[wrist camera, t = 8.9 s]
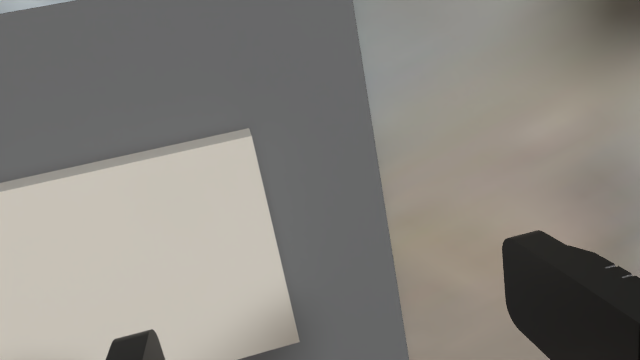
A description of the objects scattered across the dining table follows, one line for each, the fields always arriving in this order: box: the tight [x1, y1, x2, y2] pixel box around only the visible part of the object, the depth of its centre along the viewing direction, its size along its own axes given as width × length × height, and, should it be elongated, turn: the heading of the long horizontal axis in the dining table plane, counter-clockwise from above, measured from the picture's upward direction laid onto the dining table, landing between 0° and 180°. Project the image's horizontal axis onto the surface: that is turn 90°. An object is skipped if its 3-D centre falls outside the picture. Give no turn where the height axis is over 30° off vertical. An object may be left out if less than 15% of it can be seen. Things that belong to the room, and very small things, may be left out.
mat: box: [0, 0, 409, 360], centre depth 16 cm, size 16×14×1 cm
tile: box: [0, 128, 300, 360], centre depth 15 cm, size 7×2×9 cm
